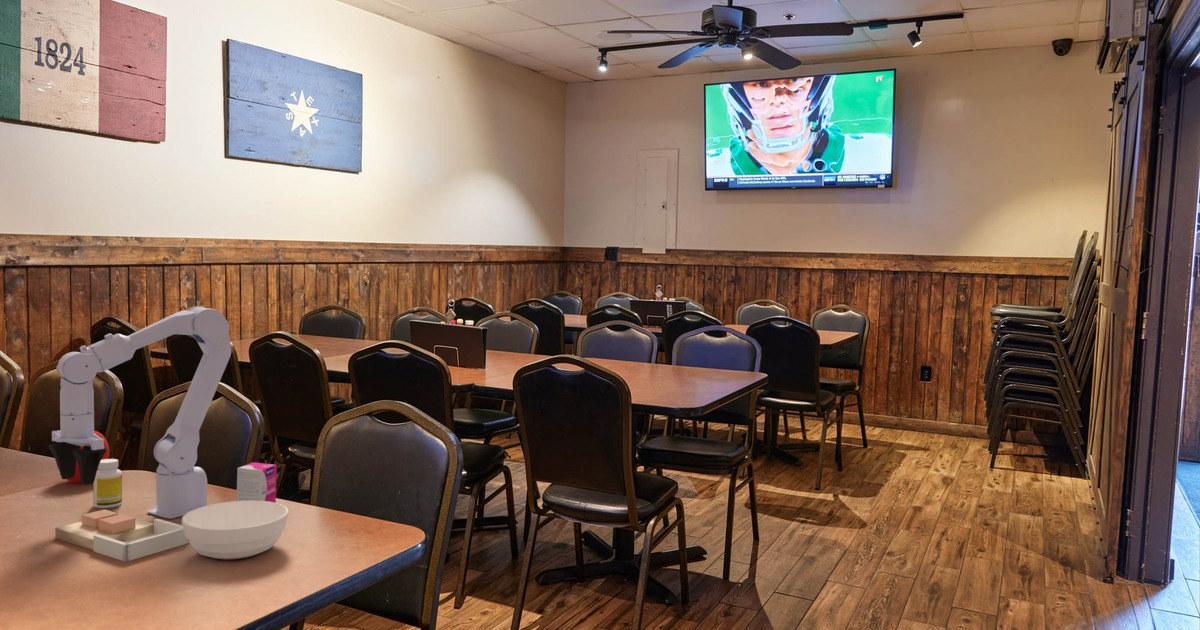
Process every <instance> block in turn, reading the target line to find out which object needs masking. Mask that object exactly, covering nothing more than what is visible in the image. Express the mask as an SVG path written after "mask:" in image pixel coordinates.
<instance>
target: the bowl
mask: <svg viewBox="0 0 1200 630" xmlns="http://www.w3.org/2000/svg"><path fill="white" fill-rule="evenodd" d="M288 516H289V509H288V507H287V506H285V505H283V504H280V503H277V502H276V503H273V502H267V501H237V500H234V501H226V502H225V501H224V502H218V503H212V504H207V506H203V507H200V508H197V509H194V510H192V511H190V512H188V513H186V514H185V515H183V516H182V517H181V523H182V524H181V525H182V526H183V529H184V534H185V536H186V537H187V538H188V539H189V545H190V546H191V547H192V548H193V549H194V551H196V552H197V553H198V554H199V555H202V556H204V557H209V558H212V559H217V560H240V559H246V558H249V557H253V556H256V555H258V554H260V553H263V552H265V551H267V550H269V549H271V548H272V547H273V546H274V545H275V544H276V543H277V542H278V541H279V539H280V538H281V534H282V531H284V530H285V528H286V526H287V521H288Z"/></svg>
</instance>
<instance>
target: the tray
mask: <svg viewBox="0 0 1200 630" xmlns="http://www.w3.org/2000/svg"><path fill="white" fill-rule="evenodd" d="M153 523H154V533H153V534H149V535H146V536H142V537H138V538H135V539H131V540H127V541H124V542H121V541H118V540H115V539H111V538H108V537H105V536H102V535H98V534H97V535H93V546H94V550H93V552H95V553H97V554H99V555H103V556H106V557H110V558H112V559H116V560H118V561H122V562H125V563H127V562H130V561H133V560H136V559H140V558H143V557H148V556H149V555H153V554H157V553H160V552H164V551H167V550H170V549H175V548H177V547H181V546H184V545H187V544H190V541H189V539H188V538H187V537H186V536H185V534H184V529H183V525H182V524H179V523H174V522H171V521H167V520H164V519H160V518H155V519H153Z"/></svg>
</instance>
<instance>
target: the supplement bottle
mask: <svg viewBox="0 0 1200 630" xmlns="http://www.w3.org/2000/svg"><path fill="white" fill-rule="evenodd" d="M118 467H119V459H116V458H108V459H104V460H101V461H100V464H99V466H98V471H97V473H96V477H95V480H94V483H92V484H93V485H92V486H93V491H92V492H93V493H92V494H93V495H92V496H93V499H92V500H93V507H94V508H96V509H111V508H116V507H118V506H121V505H122V504H123V503H122V502H123V473H122V470H121V469H119V468H118Z"/></svg>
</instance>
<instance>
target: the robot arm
mask: <svg viewBox="0 0 1200 630" xmlns="http://www.w3.org/2000/svg"><path fill="white" fill-rule="evenodd" d="M230 326H231V325H230V323H229V322H228V321H227V319H226V317H225V315H224V314H223V313H222V312H221V311H219V310H218V309H215V308H208V307H207V308H206V307H204V306H201V305H199V306H198V305H196V306H192V307H190V308H189V309H187V310H185V309H184V310H181V311H178V312H176V313H173V314H170V315H168V316H167V317H164V318H162V319H160V320H158V321H156V322H154V323H151V324H149V325H147V326H146V327H144V328H141V329H140V330H137V331H135V332H132V333H131V334H129V335H124V334H121V333H116V334H112V333H107V334H105V335H104V336H103V337H104V339H102V340H99V341H97V342H95V343H92V344H90V345H88V346H86V345H85V344H84V345H81V346H80V347H79V350H80V352H79V351H70V352H68V353H65V354H64V355H63V356H61V358H60V359H59V361H58V363H57V365H56V367H55V368H56V371H57V374H58V376H60V377H61V378H60V384H59V385H60V389H59V415H60V416H59V418H60V421H59V423H60V429H59V430H52V431H51V442H55V443H54V444H49V445H48V450H49V451H50V452H51V454H52V455H53V457H54V460H55V459H56V461H55V463H56V462H57V464H56V466H57V465H58V467H57V469H58V468H59V469H58V471H59V474H60V478H61V480H67V479H69V478H74V476H75V471H76V460H77V463H78V466H79V473H80V480H81V482H80V483H81V485H83V486H86V485H89V484H93V483H94V480H95V477H96V473H97V469H98V466H99V464H100V461H101V459H102V457H103V456H104V454H105V453H106V451H107V448H105V447H104V439H102V438H100V437H98V436H97V435H96V434H95V433H94V431H95V401H94V400H95V399H94V398H95V397H94V395H95V390H94V383H93V382H94V380H93V379H94V378H95V377H96V375H97V374H98V373H103V372H105V371H107V370H110V369H112V368H115V367H116V366H118V365H121V364H123V363H125V362H128V361H130V360H132V358H133V357H134V354H135V353H136V350H139V349H141V348H144V347H145V346H146V347H147V346H149V345H151V344H154V343H156V342H158V341H161V340H164V339H166V338H168V337H171V336H173V335H183V336H184V335H185V336H186V335H187V336H191V337H192V338H193V339H194V340H196V342H197V344H198V346H199V347H200V349H201V351H202V353H203V354H202V356H201V359H200V362H199V363H198V366H197V367H196V371H195V373H194V375H193V378H192V380H191V383H190V385H189V387H188V389H187V391H186V394H185V396H184V399H183V401H182V403H181V406H180V408H179V409H178V410H179V411H178V413H177V416H176V417H175V420H174V422H173V423H172V424H171V425H170V426H169V427H168V428H167V429H166V432H165V434H164V435H163V437H162V438H160V439H159V440H158V441H157V442H156V444H155V445H154V447H153V448H154V449H153V456H154V459H155V460H156V461H157V462H158V463H159V464H158V466H157V468H156V473H155V474H156V480H155V481H156V483H155V484H156V488H155V489H156V492H155V494H156V496H155V497H156V507H155V508H152V509H148V510H146V511H147V514H151V515H154V516H158V517H162V518H166V519H168V520H170V519H176V518H178V517H183V516H184V515H185V514H186V513H188V512H190V511H192V510H194V509H197V508H200V507H203V506H207V505H208V478H207V473H206V472H205V470H204V469H203V468H202V467H200V466H195V465H196V463H197V460H198V446H199V443H200V429H201V427H202V425H203V423H204V419H205V418H206V415H207V412H208V411H209V408H210V406H211V403H212V401H213V398H214V397H215V394H216V391H217V389H218V386H219V383H220V382H221V379H222V376H223V374H224V372H225V370H226V368H227V365H228V363H229V361H230V358H231V354H232V345H231V340H230V339H231V338H230V333H229V332H230ZM81 446H83V449H80V447H81Z"/></svg>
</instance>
